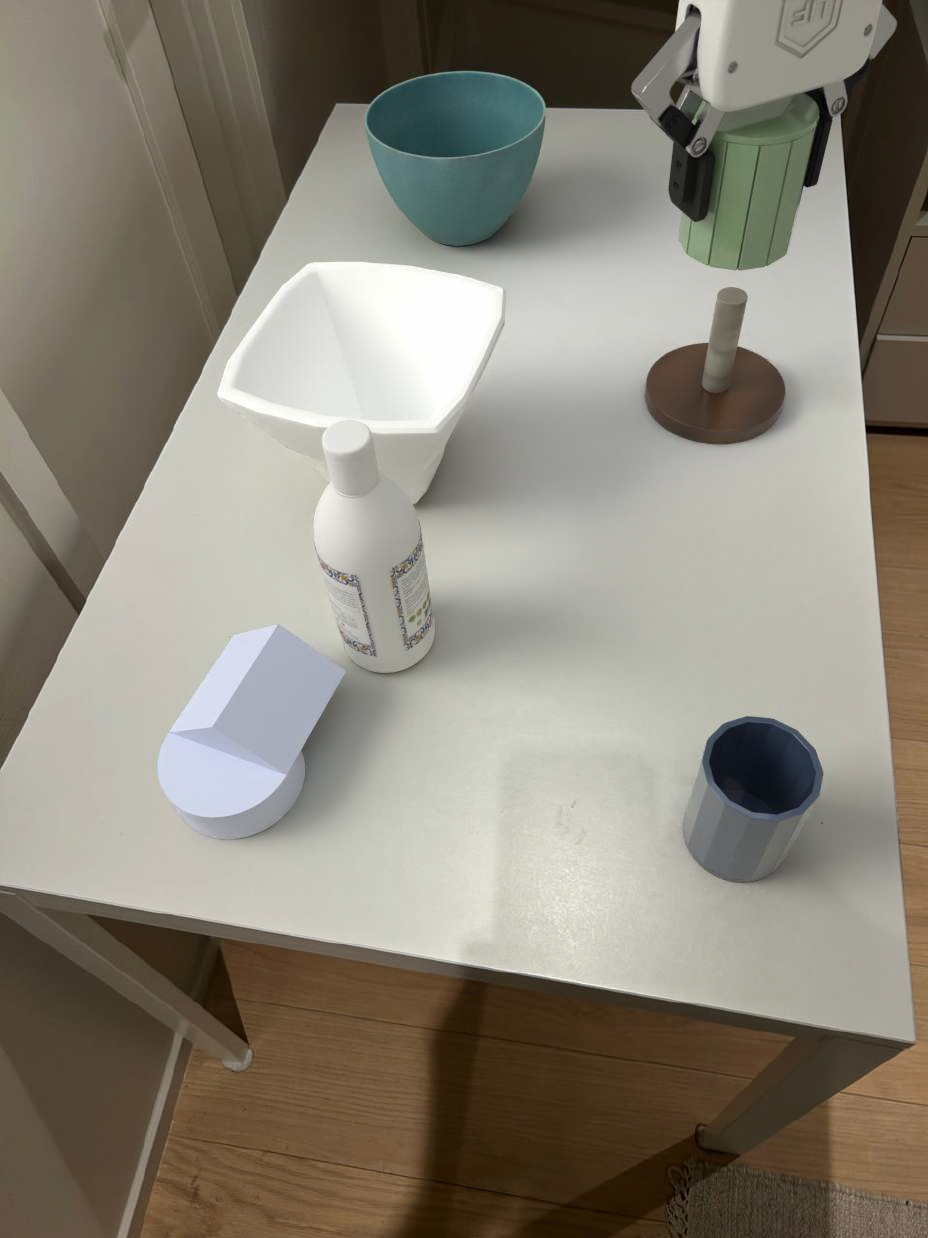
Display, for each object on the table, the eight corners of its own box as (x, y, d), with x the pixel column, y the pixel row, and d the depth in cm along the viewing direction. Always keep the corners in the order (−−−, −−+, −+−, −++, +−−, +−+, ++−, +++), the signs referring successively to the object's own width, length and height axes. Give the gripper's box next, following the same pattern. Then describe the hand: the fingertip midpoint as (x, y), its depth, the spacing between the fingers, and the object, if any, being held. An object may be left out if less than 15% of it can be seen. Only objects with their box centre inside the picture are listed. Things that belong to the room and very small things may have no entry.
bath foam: (429, 594, 72) (398, 387, 56) (442, 667, 68) (413, 467, 52) (340, 608, 71) (283, 405, 55) (347, 683, 67) (289, 487, 51)
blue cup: (794, 804, 60) (830, 734, 52) (777, 898, 56) (812, 837, 49) (695, 774, 61) (716, 702, 54) (672, 864, 58) (691, 800, 50)
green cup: (798, 219, 60) (828, 88, 54) (778, 277, 56) (808, 144, 50) (694, 205, 62) (711, 77, 56) (668, 260, 58) (683, 130, 52)
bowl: (525, 416, 83) (523, 278, 72) (459, 579, 72) (444, 446, 61) (333, 385, 87) (303, 249, 76) (244, 534, 77) (194, 402, 66)
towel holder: (792, 369, 85) (820, 265, 76) (768, 456, 78) (796, 353, 70) (662, 345, 88) (676, 243, 80) (629, 428, 81) (640, 326, 73)
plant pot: (538, 177, 108) (538, 63, 98) (551, 266, 97) (553, 148, 87) (382, 188, 108) (367, 76, 99) (378, 279, 97) (361, 163, 88)
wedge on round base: (245, 661, 69) (147, 812, 62) (221, 606, 64) (110, 765, 57) (353, 696, 67) (263, 858, 60) (337, 642, 61) (236, 813, 54)
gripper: (686, -123, 39) (648, 263, 53) (1020, -199, 42) (901, 183, 56) (601, -163, 43) (587, 203, 57) (910, -230, 47) (824, 132, 61)
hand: (743, 191), depth 57 cm, fingers closed on green cup, 7 cm apart
